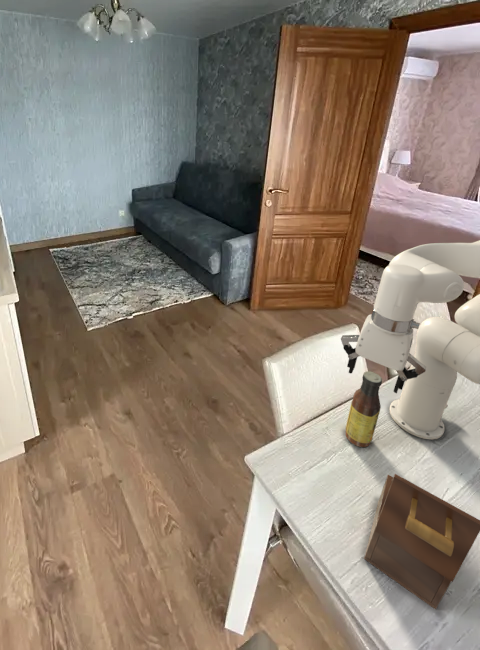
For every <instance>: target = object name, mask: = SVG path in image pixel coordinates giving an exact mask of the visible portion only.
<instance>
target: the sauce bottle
mask: <svg viewBox="0 0 480 650" xmlns="http://www.w3.org/2000/svg"><path fill="white" fill-rule="evenodd" d="M382 384H383V378H382V376H380V374H378V373H376V372H374V371H370V370H369V371H365V372H363V375H362V382H361V385H360V387H359V388H358V389H356V390H355V391H354V393H353V397H352V400H351V403H350V407H349V410H348V415H347V420H346V425H345V431H344V432H345V437H346V439H347V440H348V441H349V443H351V444H352V445H354V446H356V447H359V448H367V447H369V446H370V445H371V442H372V440H373V437H374V434H375V430H376V427H377V423H378V420H379V417H380V416H379V415H380V412H381V409H382V406H381V400H380V396H379V394H380V393H379V391H380V389H381V388H380V387H381V386H382Z"/></svg>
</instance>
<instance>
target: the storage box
mask: <svg viewBox="0 0 480 650" xmlns="http://www.w3.org/2000/svg"><path fill="white" fill-rule="evenodd" d="M393 477H394V476H392V475H390V474H387V476H386V479H385V481H384V485H383V487H382V490H381V493H380V496H379V498H378V501H377V505H376V509H375V513H374V517H373V520H372V526H371V529H370V534H369V536H368V541H367V545H366V548H365V549H366V550H365V553H364V557H363V559H364V560H365V561H366V562H368V564H371V565H372V566H373V567H374V568H376V569H377V570H378V571H380V572H381V573H383V574H384V575H386V576H387V577H389V578H390V579H392V580H393V581H394V582H396V583H397V584H398V585H400V586H401V587H402V588H404V589H405V590H407V591H409V592H410V593H411V594H412V595H414V596H416V597H417V598H419V599H420V600H421V601H423V602H424V603H425V604H427V605H428V606H429V607H431V608H433V609H434V610H437V608H438V606H439V605H440V603H441V601H442V600H443V597H444V596H445V594H446V592H447V590H448V589H449V587H450V585H451V583H452V581H450V580H449V579H447V578H446V577H444V576H443V575H441V574H440V573H438V572H437V571H435V570H434V569H432V568H430V567H429V566H427V565H426V564H424V563H423V562H421V561H420V560H418V559H417V558H415V557H414V556H412V555H411V554H409V553H408V552H406V551H404V550H403V549H401V548H400V547H398V546H397V545H395V544H394V543H392V542H391V541H389V540H388V539H386V538H385V537H383V536H382V535H380V534H378V533H377V532H375V527H376V524H377V521H378V519H379V516H380V513H381V510H382V508H383V505H384V502H385V499H386V497H387V494H388V491H389V488H390V486H391V483H392V480H393Z"/></svg>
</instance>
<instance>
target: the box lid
mask: <svg viewBox="0 0 480 650" xmlns="http://www.w3.org/2000/svg"><path fill="white" fill-rule="evenodd" d="M392 477H393V480H392V483H391V486H390V488H389V491H388V494H387V497H386V499H385V502H384V505H383V508H382V510H381V513H380V516H379V519H378V521H377V524H376V527H375V532H377V533H378V534H380V535H382V536H383V537H385V538H386V539H388V540H389V541H391V542H392V543H394V544H395V545H397V546H398V547H400V548H401V549H403V550H404V551H406V552H408V553H409V554H411V555H412V556H414V557H415V558H417V559H418V560H420V561H421V562H423V563H424V564H426V565H427V566H429V567H430V568H432V569H434V570H435V571H437V572H438V573H440V574H441V575H443V576H444V577H446V578H447V579H449V580H450V581H451V583H453V582H454V580H455V578H456V576H457V574H458V573H459V571H460V569H461V567H462V565H463V564H464V561H465V560H466V558H467V556H468V555H469V553H470V550H471V549H472V546H473V544H474V543H475V542H476V539H477V537H478V536H479V534H480V519H479V518H477V517H475V516H473V515H472V514H469V513H468V512H465V511H464V510H462V509H460V508H459V507H457V506H455V505H453V504H451V503H449V502H447V501H446V500H444V499H442V498H440V497H438V496H437V495H435V494H434V493H431V492H430V491H428V490H426V489H424V488H422V487H421V486H418V485H417V484H414V483H413V482H411V481H409V480H407V479H406V478H404V477H403V476H400V475H398V474H397V473H394V475H393V476H392Z"/></svg>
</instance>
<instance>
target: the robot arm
mask: <svg viewBox="0 0 480 650" xmlns="http://www.w3.org/2000/svg"><path fill="white" fill-rule="evenodd" d="M461 276H462V277H467V278H473V279H480V239H479V240H476V241H473V242H435V243H434V242H433V243H426V244H425V243H424V244H420V245H417V246H414V247H411V248H408V249H405V250H404V251H402V252H400V253H398V254H397V255H395V256H394V257H393V258H392V259H391V260H390V261H389V264H388V265H387V266H386V267H385V268H384V269H383V271H382V274H381V277H380V281H379V284H378V288H377V289H378V290H377V293H376V296H375V300H374V303H373V308H372V311H371V314H368V315H367V316H366V318H365V320H364V322H363V325H362V327H361V330H360V333H359V334H344V335H343V334H342V336H341V337H340V341H341V344H342V346H343V350H344V351H345V353H346V354H347V358H348V361H347V368H349V369H348V374H353V372H354V370H355V368H356V363H357V361H358V358H359V357H361V358H363V359H365V360H368V361H371V362H373V363H375V364H378V365H380V366H383V367H385V368H388V369H391V370H394V371H395V372H396V373H397V379H396V381H395V385H394V387H393V390H392V391H393V393H395V394H398V391H399V390H401V393H400V397H399V398H397V399H394V400H393V401H392V402H391V403H390V405H389V408H388V409H389V415H390V417H391V418H392V419H393V421H394V422H395V423H396V424H397V426H399V427H400V428H401V429H403V430H404V431H405V432H407V433H409V434H411V435H412V436H415V437H417V438H420V439H424V440H432V441H433V440H438V439H440V438H441V437H443V436H444V432H445V424H444V422H443V420H442V416H443V414H444V412H445V410H446V409H448V407H449V406H448V402H449V399H450V397H451V394H452V392H453V389H454V387H455V385H456V383H457V379H458V374H459V375H461V376H463V377H464V378H465V379H467V380H469V381H470V382H472V383H474V384H477V385H480V293H479V294H477V295H476V296H474V297H472V298H471V299H470V300H468V301H466V302H465V303H463V304H462V305H461V306H459V308H457V310H456V311H455V313H454V321H455V322H454V321H453V320H450V319H447V318H445V317H441V316H430V317H428V318H425V319H424V320H423V321H421V323H420V322H417V321H416V320H415V319H414V316H415V313H416V310H417V307H418V304H419V303H426V304H427V303H429V304H445V303H450V302H452V301H454V300H456V299H458V298H459V296H461V295H462V294H463V291H464V289H465V282H464V279H463V278H462V277H461ZM414 329H416V333H415V348H414V354H413V355H412V354H411V353H410V352H411V348H412V344H413V339H414ZM350 343H356V345H355V347H354V348H353V347H352V345H351V344H350ZM407 362H408V363H409V364H410V367H409V369H408V368H407V366H406V365H407Z"/></svg>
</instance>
